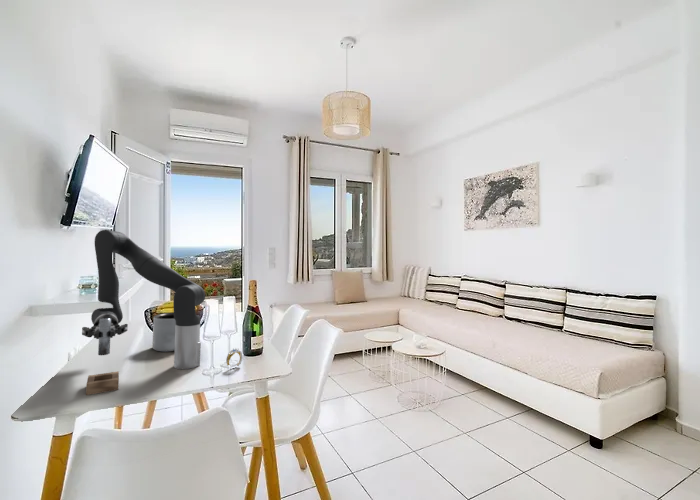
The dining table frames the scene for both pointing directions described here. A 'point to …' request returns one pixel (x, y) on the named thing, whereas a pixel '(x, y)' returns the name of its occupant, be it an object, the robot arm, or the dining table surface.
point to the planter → (164, 332)
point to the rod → (104, 336)
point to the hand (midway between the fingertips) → (104, 335)
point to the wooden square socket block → (102, 383)
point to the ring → (233, 354)
